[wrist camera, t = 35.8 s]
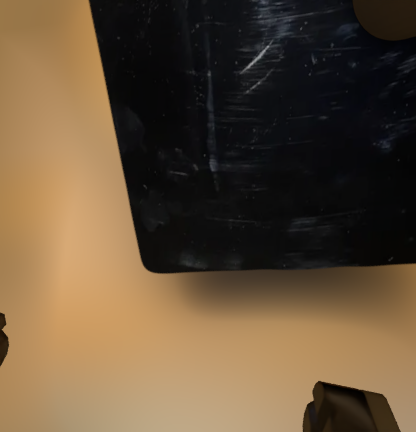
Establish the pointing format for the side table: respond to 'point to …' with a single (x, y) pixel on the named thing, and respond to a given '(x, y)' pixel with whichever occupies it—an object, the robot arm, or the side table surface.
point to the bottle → (387, 18)
